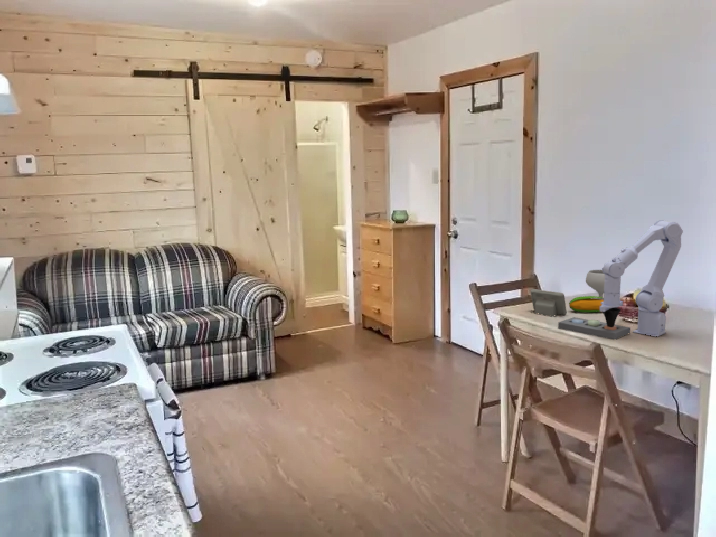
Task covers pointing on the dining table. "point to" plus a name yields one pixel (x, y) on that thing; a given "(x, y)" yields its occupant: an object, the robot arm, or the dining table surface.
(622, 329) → the button panel
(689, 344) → the dining table surface
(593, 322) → the button sage
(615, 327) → the button terracotta
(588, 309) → the corn
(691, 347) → the dining table surface
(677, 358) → the dining table surface
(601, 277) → the chalice
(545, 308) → the digital clock
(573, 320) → the button slate
